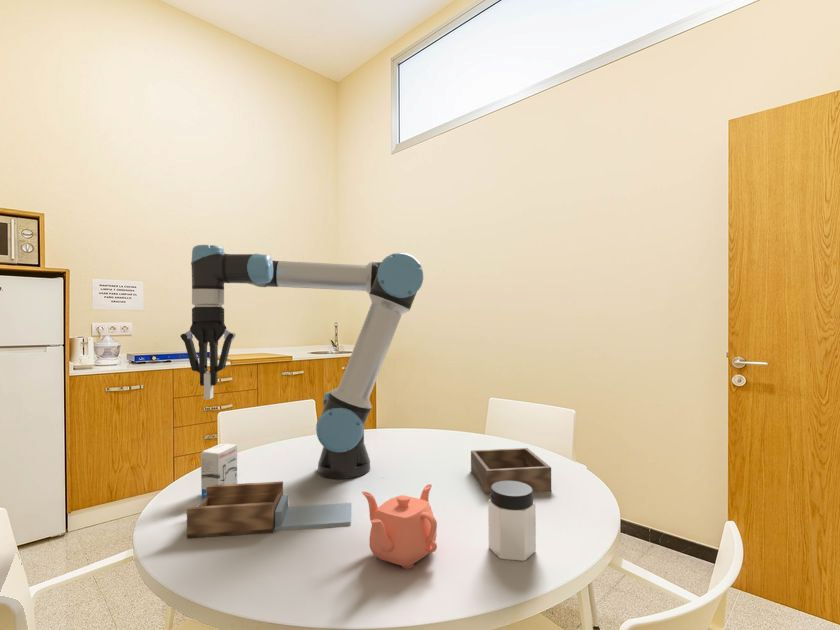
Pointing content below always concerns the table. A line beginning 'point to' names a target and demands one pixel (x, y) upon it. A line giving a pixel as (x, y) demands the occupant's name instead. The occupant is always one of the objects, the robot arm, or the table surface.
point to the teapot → (402, 528)
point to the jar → (512, 520)
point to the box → (235, 510)
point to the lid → (311, 515)
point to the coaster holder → (510, 468)
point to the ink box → (218, 466)
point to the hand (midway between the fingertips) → (208, 398)
